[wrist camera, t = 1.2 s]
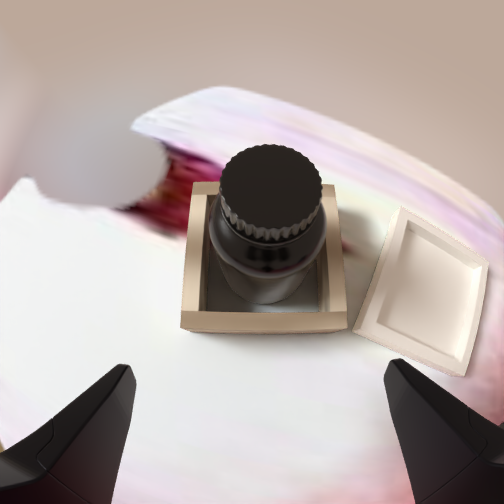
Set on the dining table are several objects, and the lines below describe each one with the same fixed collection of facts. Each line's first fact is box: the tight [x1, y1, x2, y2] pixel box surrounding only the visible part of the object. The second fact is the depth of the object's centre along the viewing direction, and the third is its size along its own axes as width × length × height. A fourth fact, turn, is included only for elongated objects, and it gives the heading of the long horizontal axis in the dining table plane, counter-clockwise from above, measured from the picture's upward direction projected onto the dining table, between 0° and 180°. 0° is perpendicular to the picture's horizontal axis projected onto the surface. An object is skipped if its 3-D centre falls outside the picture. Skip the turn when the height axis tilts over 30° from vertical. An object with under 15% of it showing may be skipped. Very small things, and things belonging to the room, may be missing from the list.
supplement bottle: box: [208, 144, 327, 304], centre depth 18 cm, size 7×7×12 cm
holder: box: [180, 182, 348, 334], centre depth 22 cm, size 11×11×4 cm
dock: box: [352, 206, 489, 376], centre depth 22 cm, size 12×12×2 cm
